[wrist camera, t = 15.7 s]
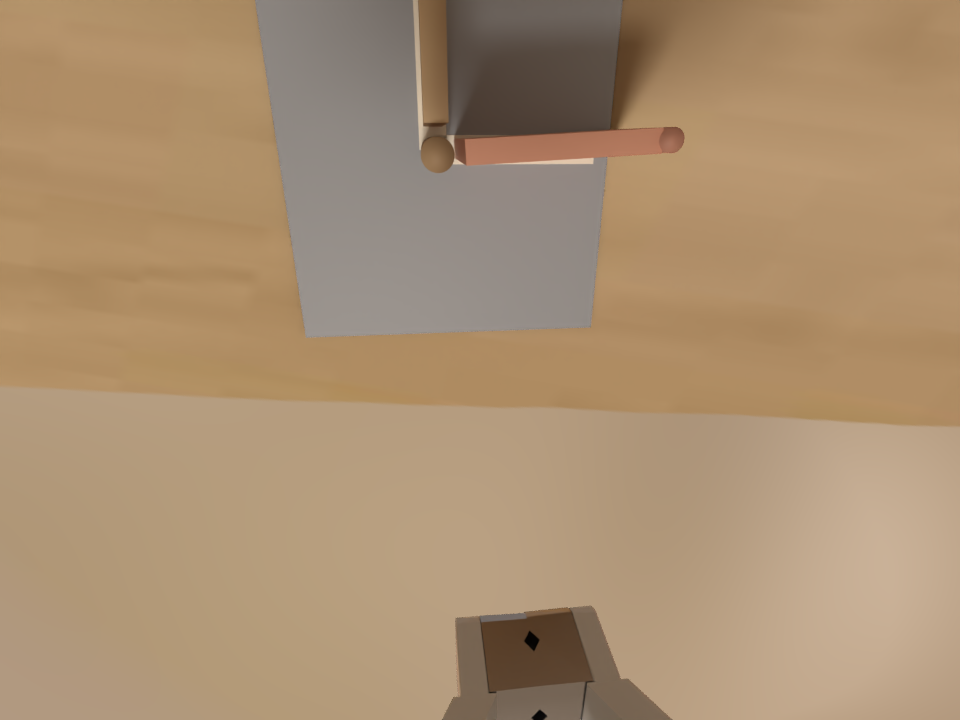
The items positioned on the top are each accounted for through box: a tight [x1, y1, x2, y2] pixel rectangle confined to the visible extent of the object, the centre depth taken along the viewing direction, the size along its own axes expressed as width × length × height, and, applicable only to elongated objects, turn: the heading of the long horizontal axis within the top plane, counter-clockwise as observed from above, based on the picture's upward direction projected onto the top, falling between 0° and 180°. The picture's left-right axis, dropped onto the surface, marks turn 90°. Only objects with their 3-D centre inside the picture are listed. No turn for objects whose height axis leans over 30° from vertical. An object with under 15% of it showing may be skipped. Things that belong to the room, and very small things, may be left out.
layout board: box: [255, 0, 623, 338], centre depth 34 cm, size 22×24×1 cm
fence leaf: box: [454, 127, 684, 166], centre depth 29 cm, size 1×11×10 cm, turn 93°
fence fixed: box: [418, 0, 455, 173], centre depth 26 cm, size 2×11×11 cm, turn 0°
